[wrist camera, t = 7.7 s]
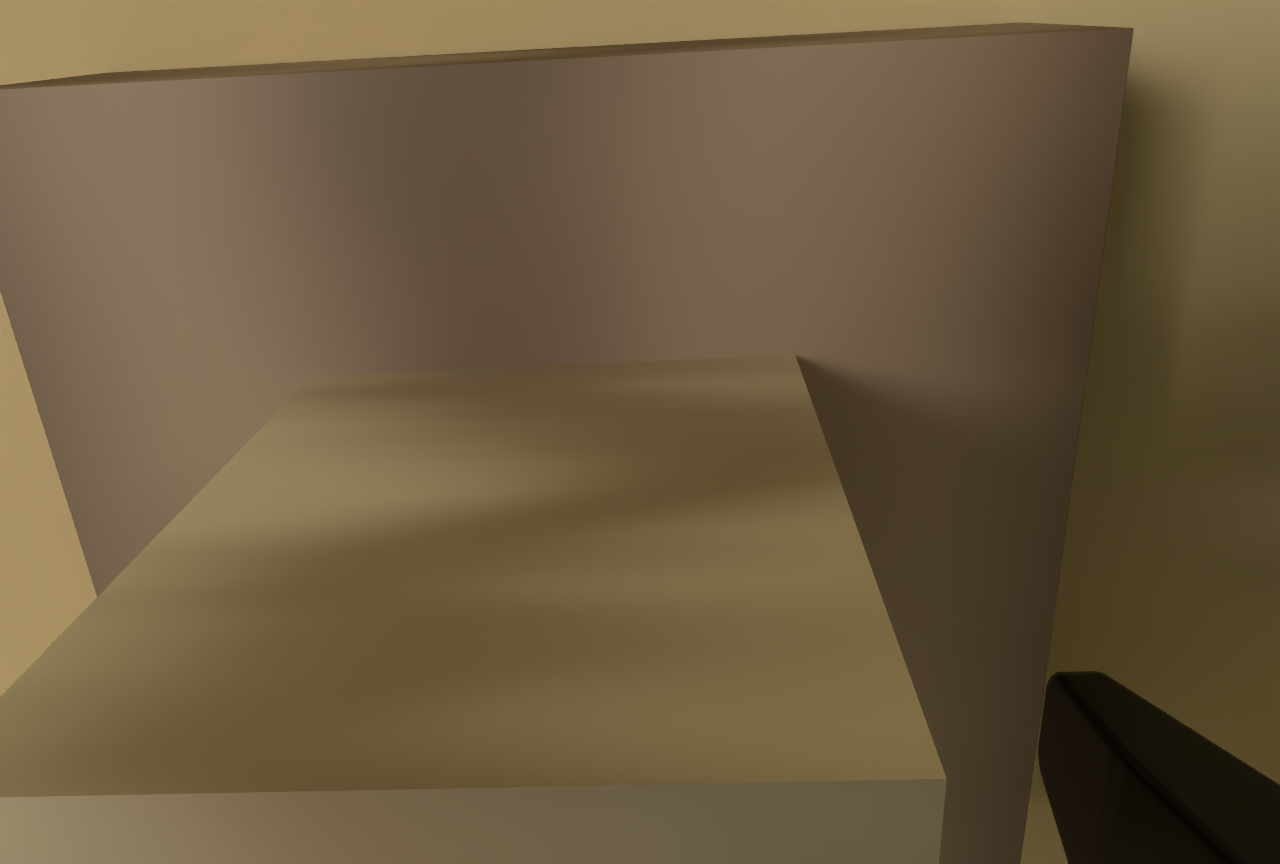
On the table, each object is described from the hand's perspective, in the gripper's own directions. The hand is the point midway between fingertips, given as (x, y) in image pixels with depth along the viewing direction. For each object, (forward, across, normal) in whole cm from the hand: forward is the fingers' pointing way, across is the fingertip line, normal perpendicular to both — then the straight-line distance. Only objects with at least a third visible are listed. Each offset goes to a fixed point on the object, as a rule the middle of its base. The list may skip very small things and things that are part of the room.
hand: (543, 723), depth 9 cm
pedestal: (+6, 0, 0) cm, 6 cm away
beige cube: (+2, 0, 0) cm, 2 cm away
